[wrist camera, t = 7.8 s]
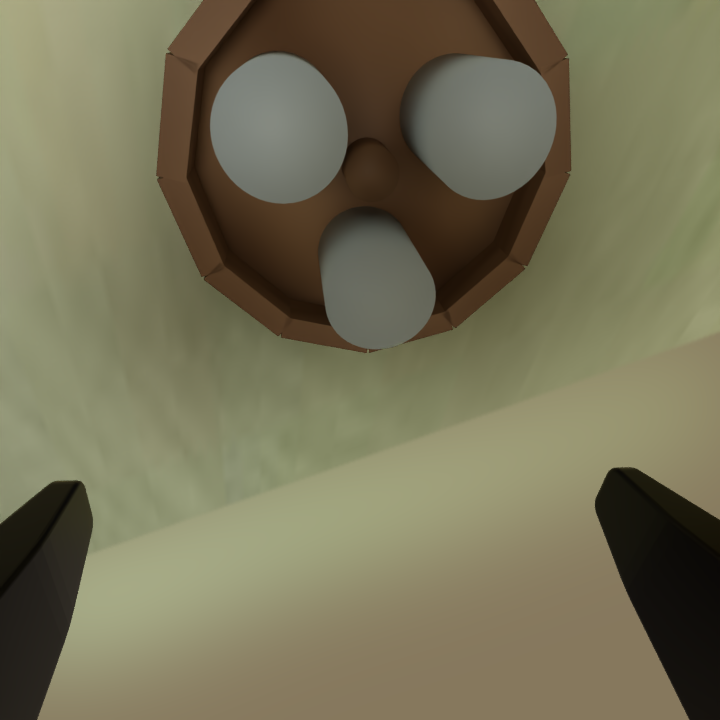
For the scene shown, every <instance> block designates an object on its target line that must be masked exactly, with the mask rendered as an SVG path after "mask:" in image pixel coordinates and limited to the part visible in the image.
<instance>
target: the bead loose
mask: <svg viewBox="0 0 720 720" xmlns="http://www.w3.org/2000/svg"><path fill="white" fill-rule="evenodd" d="M318 259H319V266H320V273H321V280H322V287H323V294H324V301H325V308H326V313H327V317H328V319H329V322H330V324H331V326H332V327H333V329H334V330H335V331H336V332H337V334H338V335H340V336H341V337H342V338H343V339H344V340H346V341H347V342H349V343H351V344H353V345H356V346H358V347H362V348H366V349H386V348H391V347H394V346H397V345H400V344H402V343H404V342H406V341H408V340H409V339H411V338H412V337H414V336H415V335H416V334H417V333H418V332H419V331H420V330H421V329H422V328H423V327H424V326H425V325H426V323H427V322H428V320H429V318H430V316H431V314H432V312H433V309H434V305H435V298H436V291H435V285H434V281H433V278H432V276H431V274H430V272H429V270H428V269H427V267H426V265H425V264H424V262H423V260H422V259H421V257H420V255H419V253H418V252H417V250H416V248H415V247H414V245H413V243H412V242H411V240H410V238H409V237H408V235H407V233H406V232H405V230H404V228H403V227H402V225H401V224H400V222H399V221H398V220H397V219H396V218H395V217H394V216H393V215H391V214H390V213H388V212H386V211H384V210H382V209H379V208H376V207H371V206H361V207H355V208H351V209H348V210H346V211H344V212H342V213H340V214H339V215H337V216H336V217H335V218H333V219H332V220H331V221H330V222H329V224H328V225H327V226H326V228H325V229H324V231H323V233H322V235H321V238H320V241H319V246H318Z"/></svg>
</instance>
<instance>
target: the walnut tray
mask: <svg viewBox="0 0 720 720" xmlns="http://www.w3.org/2000/svg"><path fill="white" fill-rule="evenodd" d="M168 50H169V51H170V53H166V60H165V72H164V85H163V98H162V110H161V123H160V135H159V148H158V161H157V173H156V176H159V178H158V179H157V181H158V183H159V185H160V187H161V189H162V192H163V194H164V196H165V198H166V200H167V203H168V205H169V207H170V209H171V211H172V213H173V216H174V218H175V220H176V222H177V224H178V226H179V229H180V231H181V233H182V235H183V237H184V240H185V242H186V244H187V246H188V248H189V250H190V253H191V255H192V257H193V259H194V261H195V263H196V266H197V268H198V270H199V272H200V274H201V277H203V276H205V278H204V280H205V281H206V282H208V283H209V284H210V285H212V286H213V287H214V288H216V289H217V290H218V291H219V292H221V293H222V294H223V295H225V296H226V297H227V298H229V299H230V300H231V301H233V302H234V303H235V304H237V305H238V306H239V307H240V308H242V309H243V310H244V311H246V312H247V313H248V314H250V315H251V316H252V317H254V318H255V319H256V320H258V321H259V322H260V323H261V324H263V325H264V326H265V327H267V328H268V329H269V330H271V331H272V332H273V333H275V334H276V335H277V336H279V335H280V334H281V338H286V339H292V340H297V341H303V342H308V343H314V344H319V345H325V346H331V347H336V348H342V349H347V350H353V351H358V352H364V353H367V350H368V349H366V348H362V347H358V346H356V345H353V344H351V343H349V342H347V341H346V340H344V339H343V338H342V337H341V336H340V335H338V334H337V332H336V331H335V330H334V329H333V327H332V326H331V324H330V322H329V319H328V317H327V313H326V308H325V301H324V294H323V287H322V280H321V273H320V266H319V259H318V246H319V241H320V238H321V235H322V233H323V231H324V229H325V228H326V226H327V225H328V224H329V222H330V221H331V220H332V219H333V218H335V217H336V216H337V215H339V214H340V213H342V212H344V211H346V210H348V209H351V208H355V207H361V206H371V207H376V208H379V209H382V210H384V211H386V212H388V213H390V214H391V215H393V216H394V217H395V218H396V219H397V220H398V221H399V222H400V224H401V225H402V227H403V228H404V230H405V232H406V233H407V235H408V237H409V238H410V240H411V242H412V243H413V245H414V247H415V248H416V250H417V252H418V253H419V255H420V257H421V259H422V260H423V262H424V264H425V265H426V267H427V269H428V270H429V272H430V274H431V276H432V278H433V281H434V285H435V291H436V298H435V305H434V309H433V312H432V314H431V316H430V318H429V320H428V322H427V323H426V325H425V326H424V327H423V328H422V329H421V330H420V331H419V332H418V333H417V334H416V335H415V336H414V337H412V338H411V339H409V340H408V341H406V342H410V341H414V340H417V339H421V338H424V337H428V336H432V335H435V334H439V333H442V332H446V331H449V330H453V329H452V325H453V326H454V327H455V328H456V327H457V326H459V325H460V324H461V323H462V322H463V321H464V320H466V319H467V318H468V317H469V316H470V315H471V314H473V313H474V312H475V311H476V310H477V309H479V308H480V307H481V306H482V305H483V304H484V303H486V302H487V301H488V300H489V299H490V298H491V297H493V296H494V295H495V294H496V293H497V292H499V291H500V290H501V289H502V288H503V287H504V286H506V285H507V284H508V283H509V282H510V281H512V280H513V279H514V278H515V277H516V276H517V275H519V274H520V273H521V272H522V271H523V270H524V269H525V268H524V267H523V266H522V265H525V266H528V264H529V262H530V259H531V257H532V255H533V253H534V251H535V249H536V247H537V244H538V242H539V240H540V238H541V236H542V234H543V232H544V230H545V227H546V225H547V223H548V221H549V219H550V217H551V215H552V212H553V210H554V208H555V206H556V204H557V202H558V200H559V197H560V195H561V193H562V191H563V189H564V187H565V185H566V183H567V180H568V178H569V176H570V174H568V173H566V172H569V171H571V141H570V90H569V59H568V58H565V57H566V56H567V55H568V54H567V52H566V51H565V49H564V48H563V46H562V44H561V43H560V41H559V39H558V38H557V36H556V34H555V33H554V31H553V30H552V28H551V26H550V25H549V23H548V21H547V20H546V18H545V16H544V15H543V13H542V12H541V10H540V8H539V7H538V5H537V3H536V2H535V0H203V2H202V3H201V4H200V6H199V7H198V8H197V10H196V11H195V12H194V14H193V15H192V16H191V18H190V19H189V21H188V22H187V23H186V25H185V26H184V27H183V29H182V30H181V31H180V33H179V34H178V35H177V37H176V38H175V40H174V41H173V42H172V44H171V45H170V46H169V48H168ZM269 51H286V52H290V53H293V54H296V55H298V56H301V57H302V58H304V59H306V60H307V61H309V62H310V63H311V64H313V65H314V66H315V67H316V68H317V69H318V70H319V72H320V73H321V74H322V75H323V77H324V78H325V79H326V80H327V81H328V83H329V84H330V85H331V86H332V88H333V89H334V91H335V92H336V94H337V96H338V97H339V99H340V102H341V104H342V106H343V109H344V112H345V116H346V121H347V128H348V142H347V149H346V154H345V157H344V160H343V163H342V165H341V167H340V169H339V171H338V173H337V174H336V176H335V177H334V179H333V180H332V181H331V182H330V183H329V185H327V186H326V187H325V188H324V189H323V190H322V191H320V192H319V193H318V194H316V195H314V196H312V197H310V198H308V199H306V200H303V201H300V202H295V203H287V204H281V203H272V202H267V201H264V200H260V199H258V198H256V197H254V196H251V195H250V194H248V193H246V192H245V191H243V190H242V189H241V188H240V187H238V186H237V185H236V184H235V183H234V182H233V181H232V180H231V179H230V178H229V176H228V175H227V174H226V173H225V171H224V170H223V168H222V166H221V165H220V163H219V161H218V159H217V157H216V154H215V151H214V148H213V145H212V140H211V132H210V119H211V112H212V106H213V103H214V100H215V97H216V95H217V93H218V91H219V89H220V87H221V86H222V85H223V83H224V82H225V80H226V79H227V78H228V77H229V76H230V75H231V74H232V73H233V72H234V71H235V70H237V69H238V68H239V67H240V66H242V65H243V64H244V63H246V62H247V61H248V60H249V59H251V58H253V57H254V56H256V55H259V54H261V53H264V52H269ZM451 53H459V54H468V55H476V56H483V57H491V58H499V59H506V60H513V61H517V62H521V63H523V64H525V65H528V66H529V67H531V68H532V69H534V70H535V71H536V72H537V73H539V74H540V75H541V76H542V78H543V79H544V80H545V81H546V83H547V85H548V86H549V88H550V90H551V92H552V95H553V98H554V102H555V106H556V115H557V119H556V131H555V136H554V140H553V144H552V146H551V149H550V152H549V154H548V156H547V158H546V160H545V161H544V163H543V164H542V166H541V168H540V169H539V170H538V171H537V173H536V174H535V175H534V176H533V177H532V178H531V179H530V180H529V181H528V182H527V183H526V184H524V185H523V186H522V187H520V188H519V189H517V190H516V191H514V192H512V193H510V194H508V195H506V196H503V197H500V198H496V199H490V200H476V199H470V198H467V197H464V196H462V195H460V194H458V193H456V192H454V191H453V190H452V189H450V188H449V187H448V186H447V185H446V184H445V183H444V182H443V181H442V180H441V179H440V178H439V177H438V176H437V175H436V174H434V173H433V172H432V171H431V170H430V169H429V168H428V167H427V166H426V165H425V164H424V163H423V162H422V161H421V160H420V159H419V158H418V157H417V156H416V155H415V154H414V153H413V152H412V151H411V150H410V148H409V147H408V145H407V144H406V142H405V140H404V137H403V135H402V131H401V127H400V105H401V101H402V97H403V94H404V91H405V89H406V87H407V85H408V83H409V81H410V80H411V78H412V77H413V76H414V74H415V73H416V72H417V71H418V70H419V69H420V68H421V67H422V66H423V65H424V64H426V63H427V62H429V61H430V60H432V59H434V58H436V57H439V56H441V55H445V54H451ZM406 342H404V343H406ZM402 344H403V343H402ZM378 350H381V349H369V353H371V352H374V351H378Z"/></svg>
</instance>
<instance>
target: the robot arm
mask: <svg viewBox="0 0 720 720" xmlns="http://www.w3.org/2000/svg"><path fill="white" fill-rule="evenodd" d="M595 510H596V514H597V516H598V519H599V522H600V524H601V527H602V529H603V532H604V535H605V537H606V540H607V543H608V545H609V548H610V550H611V553H612V556H613V558H614V561H615V564H616V566H617V569H618V572H619V574H620V577H621V579H622V582H623V584H624V587H625V589H626V591H627V594H628V596H629V598H630V600H631V602H632V604H633V606H634V608H635V610H636V612H637V614H638V616H639V619H640V621H641V623H642V624H643V627H644V629H645V631H646V633H647V635H648V637H649V639H650V641H651V643H652V645H653V647H654V649H655V651H656V653H657V655H658V657H659V659H660V661H661V663H662V665H663V667H664V669H665V671H666V673H667V675H668V677H669V679H670V681H671V684H672V686H673V688H674V689H675V692H676V694H677V696H678V698H679V700H680V702H681V704H682V706H683V708H684V710H685V712H686V714H687V716H688V718H689V720H720V520H719V519H717V518H716V517H714V516H712V515H711V514H709V513H708V512H706V511H704V510H703V509H701V508H700V507H698V506H696V505H695V504H693V503H691V502H689V501H688V500H687V499H685V498H683V497H682V496H680V495H678V494H677V493H675V492H674V491H672V490H670V489H669V488H667V487H665V486H664V485H662V484H660V483H659V482H657V481H656V480H654V479H652V478H651V477H649V476H648V475H646V474H644V473H643V472H641V471H639V470H638V469H635V468H631V467H624V468H623V467H621V468H612V469H611V470H610V471H609V472H608V473H607V475H606V477H605V479H604V482H603V484H602V486H601V488H600V490H599V492H598V495H597V497H596V500H595ZM92 528H93V517H92V512H91V508H90V504H89V501H88V497H87V493H86V489H85V486H84V484H83V483H82V482H81V481H78V480H73V481H54V482H52V483H50V484H49V485H47V486H46V487H45V488H44V489H42V490H41V491H40V492H39V493H37V494H36V495H35V496H34V497H33V498H31V499H30V500H29V501H28V502H26V503H25V504H24V505H23V506H22V507H20V508H19V509H18V510H17V511H15V512H14V513H13V514H12V515H11V516H9V517H8V518H7V519H6V520H4V521H3V522H2V523H1V524H0V720H37V719H38V716H39V713H40V710H41V707H42V704H43V701H44V699H45V696H46V693H47V690H48V688H49V685H50V682H51V679H52V676H53V673H54V671H55V668H56V665H57V662H58V659H59V656H60V653H61V651H62V648H63V645H64V642H65V639H66V636H67V633H68V630H69V627H70V623H71V619H72V615H73V611H74V607H75V602H76V598H77V594H78V590H79V585H80V581H81V577H82V572H83V568H84V564H85V560H86V555H87V551H88V547H89V542H90V538H91V534H92Z"/></svg>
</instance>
